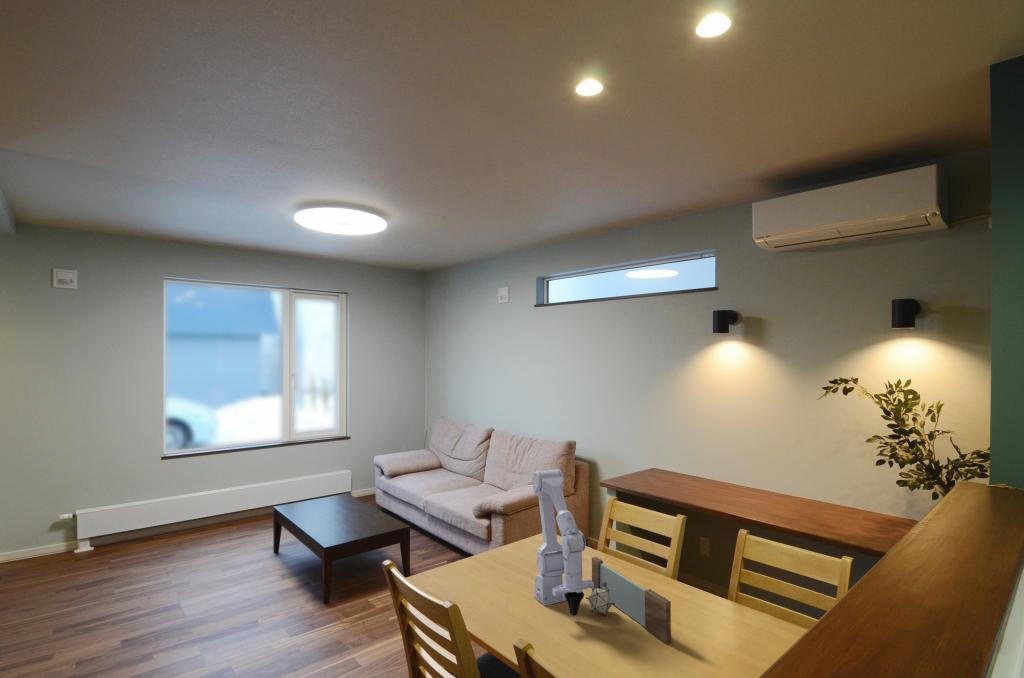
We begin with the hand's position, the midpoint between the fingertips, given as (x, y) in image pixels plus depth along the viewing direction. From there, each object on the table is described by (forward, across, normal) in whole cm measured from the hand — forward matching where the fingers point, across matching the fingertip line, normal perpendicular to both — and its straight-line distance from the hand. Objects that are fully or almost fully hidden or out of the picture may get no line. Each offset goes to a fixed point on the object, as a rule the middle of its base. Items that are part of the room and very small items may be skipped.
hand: (573, 614), depth 164 cm
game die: (+2, +10, 0) cm, 11 cm away
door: (+2, +18, -2) cm, 18 cm away
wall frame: (+2, +18, -5) cm, 19 cm away
